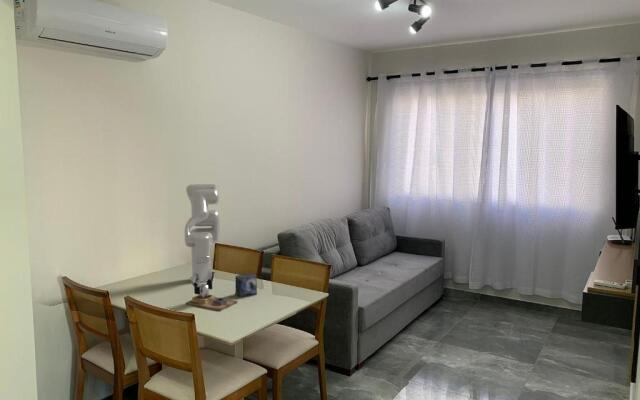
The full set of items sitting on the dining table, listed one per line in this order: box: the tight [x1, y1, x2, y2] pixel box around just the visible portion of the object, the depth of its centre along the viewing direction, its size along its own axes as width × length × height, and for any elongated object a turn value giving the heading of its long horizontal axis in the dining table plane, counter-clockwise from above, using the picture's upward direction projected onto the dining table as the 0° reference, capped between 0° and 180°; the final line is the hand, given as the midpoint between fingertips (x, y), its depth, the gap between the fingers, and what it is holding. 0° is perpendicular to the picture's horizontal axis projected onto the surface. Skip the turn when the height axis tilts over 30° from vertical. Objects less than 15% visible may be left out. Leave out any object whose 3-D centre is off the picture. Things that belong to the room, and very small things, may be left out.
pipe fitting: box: [198, 283, 210, 300], centre depth 251 cm, size 5×5×8 cm
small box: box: [234, 273, 258, 298], centre depth 264 cm, size 11×6×10 cm, turn 117°
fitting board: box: [185, 294, 238, 312], centre depth 249 cm, size 14×22×3 cm, turn 64°
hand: (203, 291), depth 251 cm, fingers open, 9 cm apart
